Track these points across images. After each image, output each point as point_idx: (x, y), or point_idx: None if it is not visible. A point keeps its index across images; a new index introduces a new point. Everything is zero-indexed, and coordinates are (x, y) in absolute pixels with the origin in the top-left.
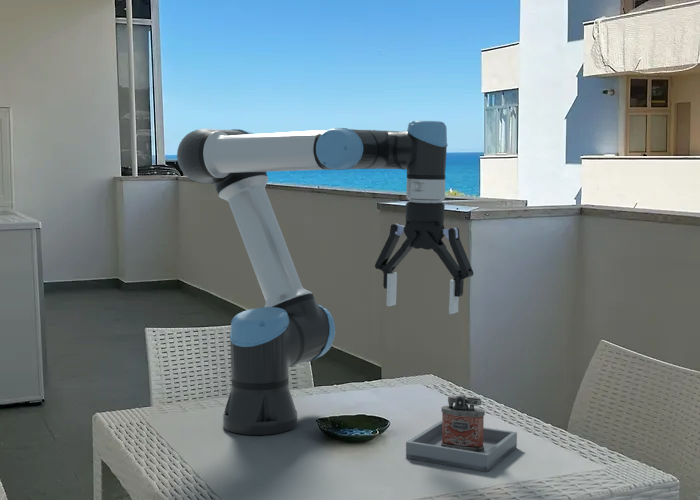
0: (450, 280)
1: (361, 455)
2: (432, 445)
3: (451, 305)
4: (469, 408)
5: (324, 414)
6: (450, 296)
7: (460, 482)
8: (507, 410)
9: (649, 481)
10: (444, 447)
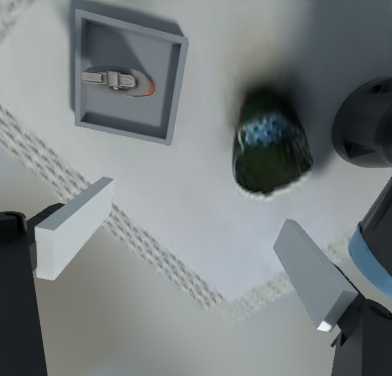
0: (52, 229)
1: (241, 38)
2: (152, 32)
3: (96, 185)
4: (108, 87)
5: (306, 183)
6: (87, 198)
7: None
8: (129, 245)
9: None
10: (135, 27)
